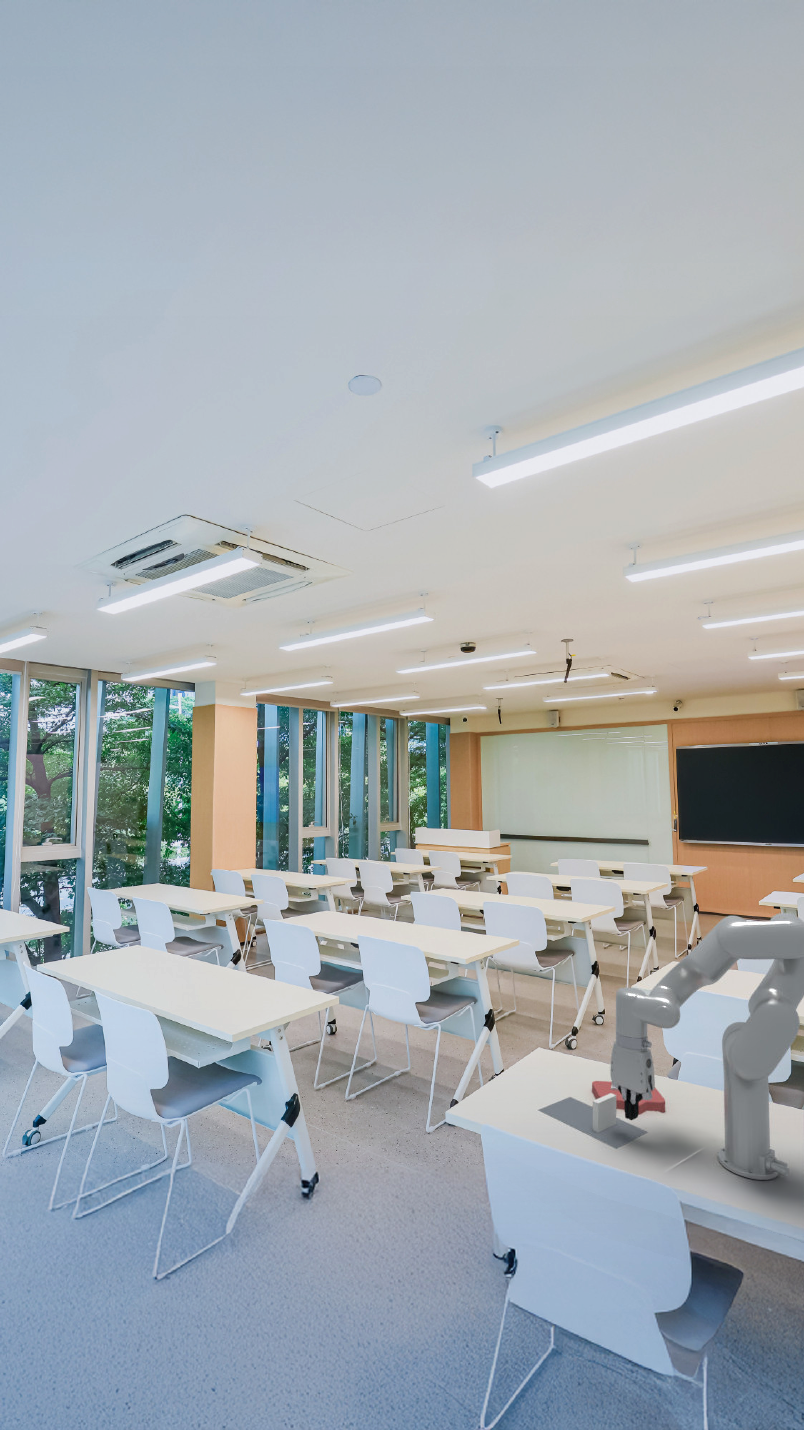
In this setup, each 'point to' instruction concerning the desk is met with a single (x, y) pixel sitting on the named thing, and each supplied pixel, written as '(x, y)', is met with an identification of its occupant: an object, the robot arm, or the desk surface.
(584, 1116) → the tile mat
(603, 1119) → the tile
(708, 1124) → the desk surface
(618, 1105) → the plaque
